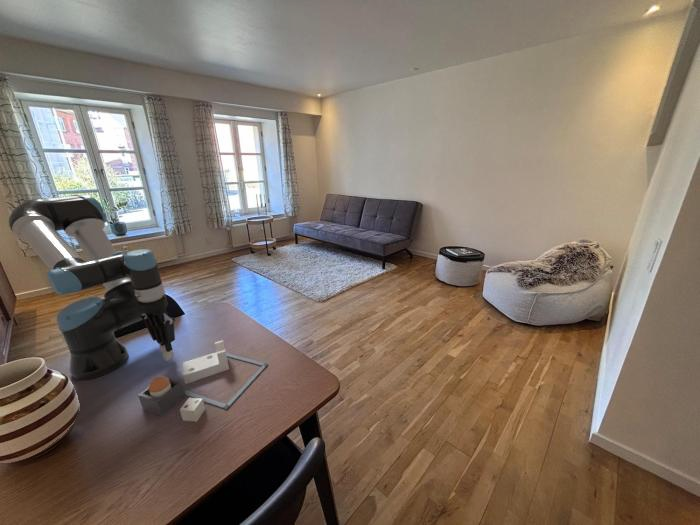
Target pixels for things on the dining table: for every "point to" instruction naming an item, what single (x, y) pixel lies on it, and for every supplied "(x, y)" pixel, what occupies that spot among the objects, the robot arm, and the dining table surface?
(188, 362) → the bracket
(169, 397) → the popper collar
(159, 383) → the orange and white capsule
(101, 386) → the dining table surface
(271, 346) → the dining table surface
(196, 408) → the die
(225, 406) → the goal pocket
